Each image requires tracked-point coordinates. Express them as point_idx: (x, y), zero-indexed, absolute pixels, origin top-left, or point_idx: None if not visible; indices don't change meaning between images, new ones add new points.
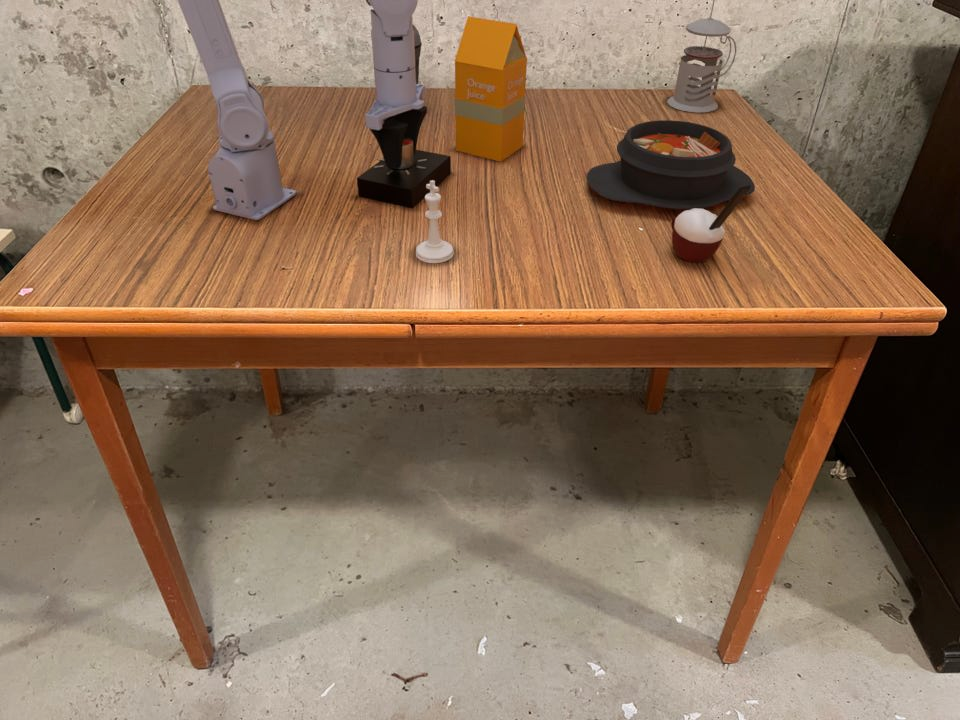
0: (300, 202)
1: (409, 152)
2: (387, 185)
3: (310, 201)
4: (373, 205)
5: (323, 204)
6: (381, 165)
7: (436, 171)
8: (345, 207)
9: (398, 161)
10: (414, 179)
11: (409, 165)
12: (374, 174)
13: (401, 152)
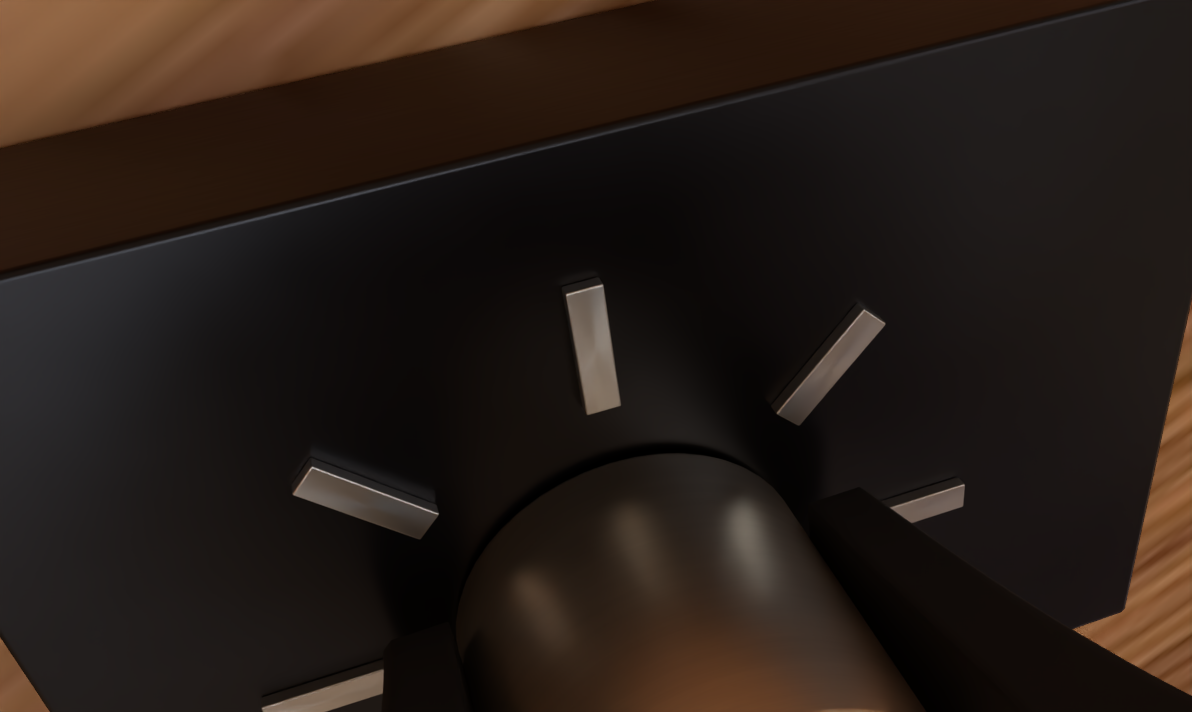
0: (1187, 656)
1: (755, 609)
2: (1183, 301)
3: (1159, 633)
4: None
5: (1180, 553)
6: None
7: (431, 144)
8: (1189, 420)
9: (935, 541)
10: (966, 152)
11: (685, 471)
12: (1005, 569)
13: (960, 627)
